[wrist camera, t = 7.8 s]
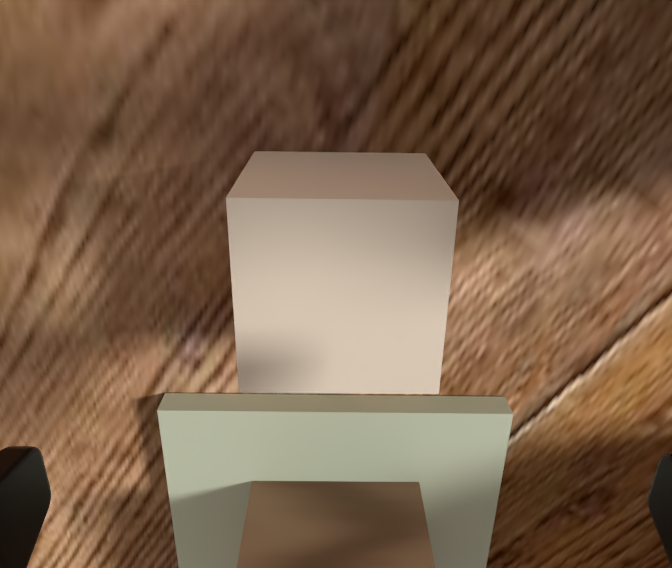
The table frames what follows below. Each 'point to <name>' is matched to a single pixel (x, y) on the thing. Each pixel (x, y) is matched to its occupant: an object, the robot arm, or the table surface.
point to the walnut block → (335, 525)
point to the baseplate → (332, 461)
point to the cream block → (340, 272)
